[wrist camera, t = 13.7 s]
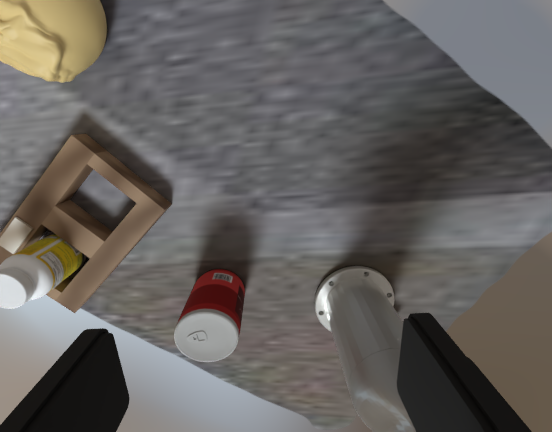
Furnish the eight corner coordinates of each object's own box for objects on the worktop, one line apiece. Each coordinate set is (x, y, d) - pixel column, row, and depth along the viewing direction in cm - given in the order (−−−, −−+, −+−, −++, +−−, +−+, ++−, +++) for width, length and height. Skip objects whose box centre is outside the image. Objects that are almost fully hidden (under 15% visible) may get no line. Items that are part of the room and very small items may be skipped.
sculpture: (3, 43, 35) (-106, 13, 25) (40, -58, 32) (-65, -139, 22) (93, 102, 38) (28, 96, 27) (136, 12, 35) (81, -32, 24)
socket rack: (171, 203, 42) (164, 210, 39) (86, 301, 47) (73, 314, 44) (86, 133, 39) (69, 134, 36) (3, 245, 43) (-18, 255, 40)
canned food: (185, 280, 46) (160, 327, 35) (230, 258, 45) (218, 301, 34) (210, 316, 48) (194, 371, 38) (253, 297, 47) (249, 348, 37)
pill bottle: (41, 258, 44) (-30, 302, 34) (50, 224, 43) (-21, 258, 32) (82, 274, 45) (26, 322, 35) (93, 241, 44) (37, 280, 33)
